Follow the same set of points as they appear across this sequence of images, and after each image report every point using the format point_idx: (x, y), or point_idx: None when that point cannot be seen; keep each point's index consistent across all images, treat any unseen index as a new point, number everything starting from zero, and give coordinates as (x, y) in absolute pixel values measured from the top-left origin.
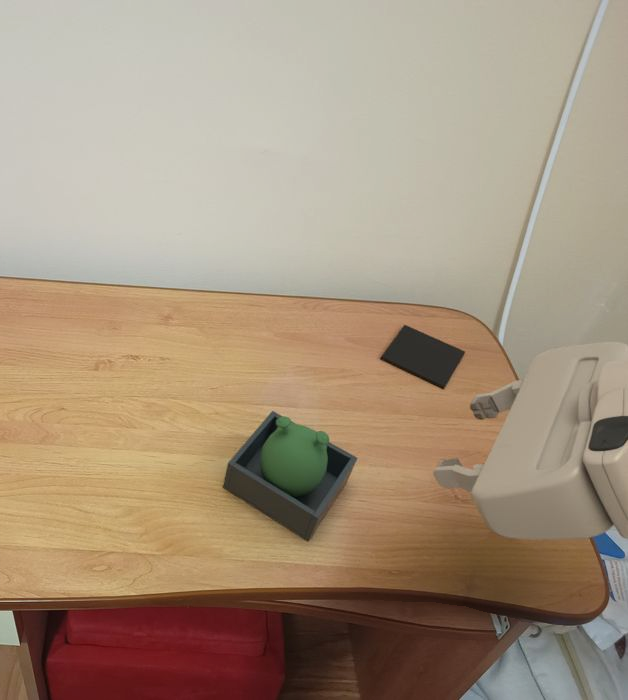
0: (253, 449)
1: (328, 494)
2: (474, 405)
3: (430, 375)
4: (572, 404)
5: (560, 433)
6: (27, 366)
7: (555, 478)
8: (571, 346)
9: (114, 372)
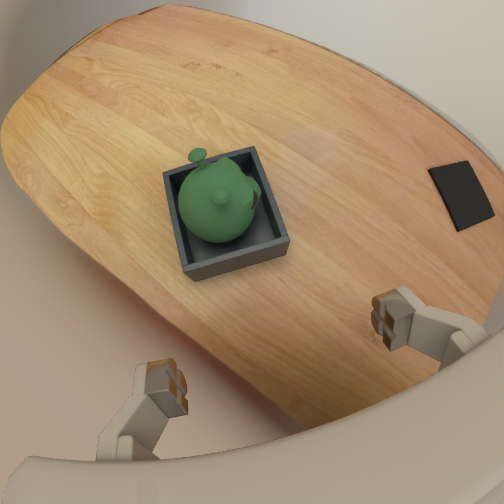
0: None
1: (217, 257)
2: (378, 303)
3: (456, 212)
4: None
5: None
6: (149, 56)
7: None
8: None
9: (193, 72)
